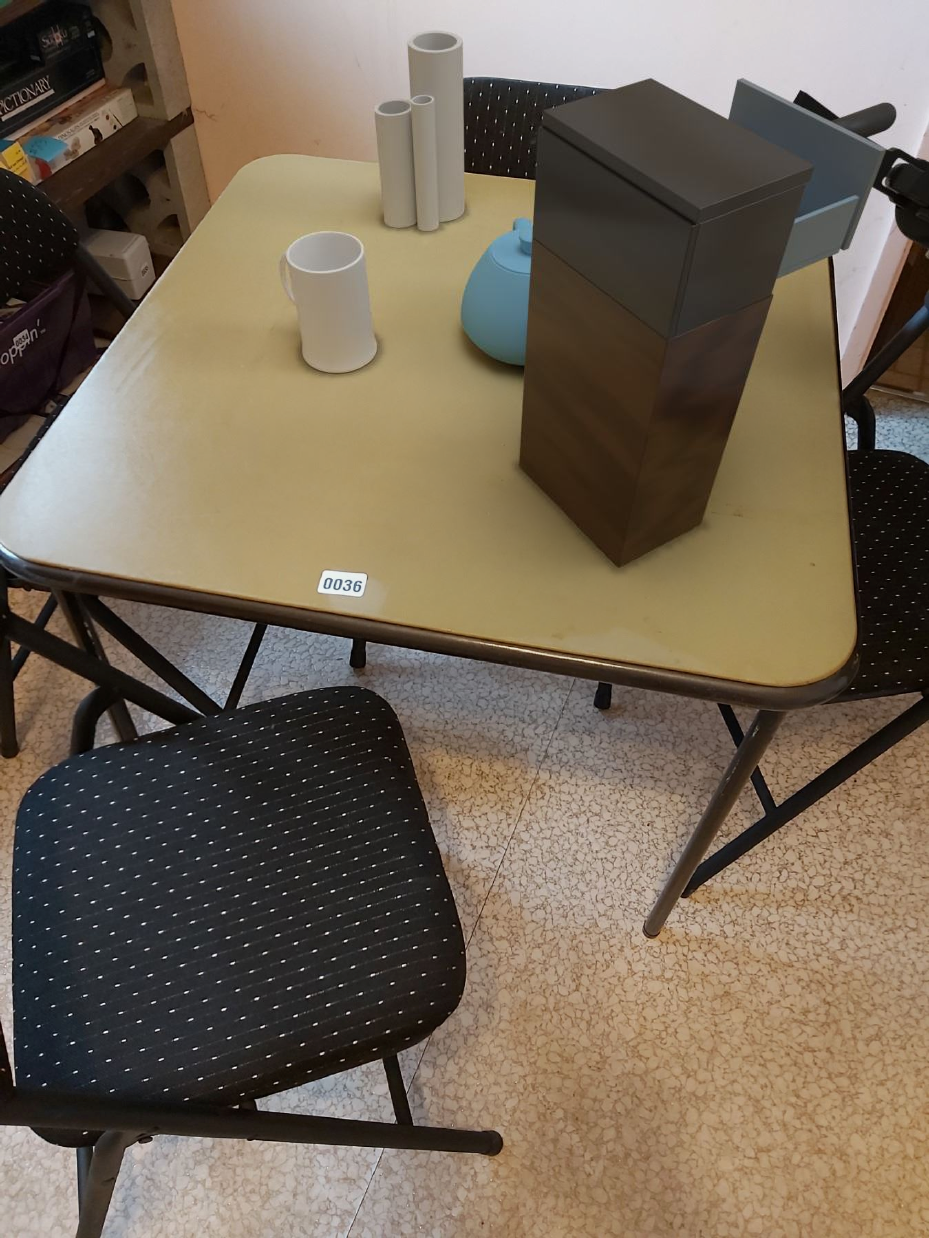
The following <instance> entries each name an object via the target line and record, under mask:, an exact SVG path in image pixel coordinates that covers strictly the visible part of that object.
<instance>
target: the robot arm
mask: <svg viewBox="0 0 929 1238" xmlns="http://www.w3.org/2000/svg"><path fill="white" fill-rule="evenodd" d="M792 103H794V104H796V105H798V106H800V107H802V108H804V109H807V110H809V111H811V112H813V113H815V114H817V115H819V116H821V117H823V118H825V119H827V120H829V121H832V120H835V119H838V118H840V116H838V115H837V114H836V113H834V112H833V111H832V110H830V109H829V108H828V107H826V106H825V105H823V104H822V103H821V102H819V100H817V99H816V98H814V97H813V96H812V95H810V94H809V93H808V92H806V91H804V90H802V89H799V90H798V92H797V94H796V96H795V98H794V99H793V101H792ZM865 139H867V140H869V141H871V142H873V143H875V144H877V145H879V146H881V145H880V144H879V143H878V142H875V141H874V140H872V139H870V137H867V138H865ZM898 159H900V160H902V161H904V162H900V163H897V164H895V163H896V162H897V160H898ZM894 164H895V165H894ZM883 181H884V184H883ZM872 189H875V190H876V191H878V192H880V193H881V194H883V195H885V196H886V197H888V201H889V202H890V203H892V204H894V218H895V224H896V226H897V228H898V230H899V232H900V233H901V234H902V235H903V236H904V237H905V238H907V239H908V240H910V241H912V242H913V243H915V244H917V245H918V246H920V247H922V248H924V249H926V250H927V251H926V253H925V257H926V259H928V260H929V161H928V160H926V159H924V158H920V157H914V156H913V155H911V154H909V153H908V152H906V151H904V150H902V149H901V148H897V147H893V146H892V147H890V148H886V152H885V154H884V157H883V160H882V162H881V165H880V168H879V170H878V173H877V176H876V178H875V181H874V183H873V186H872Z"/></svg>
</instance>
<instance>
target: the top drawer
mask: <svg viewBox="0 0 929 1238" xmlns="http://www.w3.org/2000/svg"><path fill="white" fill-rule="evenodd" d="M897 114H898V113H897V109H896V107H895V106H894V104H892V103H890V102H885V101H884V102H881V103H878V104H875V105H872V106H870V107H867V108H864V109H861V110H858V111H855V112H852V113H849V114H847V115H844V116H841V117H839V118H838V119H835V120H832V121H829V120H827V119H825V118H823V117H821V116H819V115H817V114H815V113H813V112H811V111H809V110H807V109H804V108H802V107H800V106H798V105H796V104H794V103H793V101H791V100H788V99H786V98H784V97H782V96H781V95H778V94H776V93H775V92H772V91H770V90H768V89H766V88H764V87H762V86H760V85H758V84H755V83H753V82H752V81H749V80H747V79H746V78H743V77H741V78H738V79H737V80H736V83H735V88H734V92H733V96H732V101H731V106H730V111H729V114H728V117H727V119H728V120H730V121H732V122H734V123H736V124H738V125H740V126H741V127H743V128H745V129H747V130H749V131H751V132H753V133H755V134H756V135H758V136H760V137H762V138H764V139H766V140H768V141H769V142H771V143H773V144H775V145H777V146H779V147H781V148H783V149H784V150H786V151H788V152H790V153H792V154H794V155H796V156H798V157H799V158H801V159H803V160H805V161H807V162H809V163H811V164H812V165H814V166H815V167H814V171H813V174H812V177H811V180H810V181H809V182H807V183H806V186H805V190H804V193H803V196H802V199H801V202H800V205H799V209H798V212H797V215H796V218H795V221H794V224H793V228H792V231H791V234H790V237H789V240H788V243H787V247H786V250H785V253H784V256H783V259H782V263H781V266H780V269H779V272H778V275H777V278H776V280H778V279H781V278H783V277H786V276H787V275H791V274H792V273H796V272H797V271H800V270H801V269H804V268H806V267H808V266H812V265H814V264H816V263H818V262H820V261H823V260H825V259H827V258H830V257H832V256H834V255H837V254H839V253H840V250H842V251H846V250H849V249H850V247H851V245H852V242H853V239H854V237H855V233H856V232H857V229H858V225H859V223H860V220H861V218H862V215H863V213H864V210H865V207H866V205H867V201H868V199H869V196H870V194H871V192H872V189H873V187H872V186H873V183H874V181H875V178H876V176H877V173H878V170H879V168H880V165H881V162H882V160H883V157H884V154H885V152H886V149H887V148H886V147H884V146H882V145H880V144H879V145H880V146H879V145H877V144H878V143H877V144H875V143H876V142H875V143H873V142H871V141H869V140H867V139H865V138H870V137H873V136H875V135H878V134H880V133H883V132H885V131H888V130H889V129H890V128H891V127H892V126H893V125H894V124H895V121H896V119H897Z"/></svg>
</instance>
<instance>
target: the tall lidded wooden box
mask: <svg viewBox="0 0 929 1238" xmlns="http://www.w3.org/2000/svg"><path fill="white" fill-rule="evenodd" d="M541 119H542V120H541V126H539V127H538V129H537V130H538V131H537V146H536V147H537V148H536V164H535V165H536V166H535V181H534V197H533V214H532V215H533V216H532V226H533V231H532V250H531V267H530V284H529V301H528V318H527V336H526V353H525V365H524V369H523V370H524V374H523V386H522V388H523V390H522V403H521V405H522V406H521V407H522V408H521V420H520V421H521V425H520V442H519V459H518V466H519V468H520V469H522V470H523V472H525V474H526V475H527V476H528V477H530V478H531V480H532V481H533V482H534V483H535V484H536V485H537V486H538V487H539V488H540V489H541V490H542V491H543V492H544V493H545V494H546V495H547V496H548V497H549V498H550V499H551V500H552V501H553V502H554V503H555V504H556V505H557V506H558V507H559V508H560V509H561V510H562V511H563V512H564V513H565V514H566V516H568V518H569V519H571V520H572V522H573V523H574V524H575V525H576V526H577V527H578V528H579V529H580V530H581V531H582V532H583V533H584V534H585V535H586V536H587V537H588V538H589V539H590V540H591V541H592V542H593V543H594V544H595V545H596V547H598V548H599V549H600V550H601V552H603V553H604V554H605V556H607V557H608V558H609V560H611V561H612V563H614V564H615V565H616V567H618V568H622V566H624V565H626V564H629V563H630V562H632V561H634V560H636V559H637V558H640V557H641V556H644V555H645V554H647V553H649V552H651V551H652V550H655V549H657V548H658V547H660V546H662V545H664V544H666V543H668V542H670V541H671V540H673V539H675V538H678V537H679V536H681V535H683V534H684V533H686V532H689V531H690V530H692V529H694V528H696V527H697V526H699V525H701V524H702V522H703V519H704V516H705V513H706V510H707V507H708V503H709V500H710V497H711V494H712V491H713V487H714V484H715V482H716V479H717V475H718V473H719V469H720V466H721V462H722V460H723V456H724V453H725V450H726V447H727V444H728V441H729V437H730V434H731V432H732V428H733V425H734V422H735V419H736V415H737V412H738V409H739V406H740V403H741V400H742V396H743V393H744V390H745V387H746V385H747V381H748V377H749V374H750V371H751V368H752V364H753V362H754V359H755V355H756V352H757V349H758V347H759V344H760V341H761V340H760V339H761V337H762V334H763V330H764V328H765V324H766V321H767V318H768V314H769V312H770V308H771V305H772V302H773V300H774V296H775V295H774V294H773V290H774V287H775V284H776V281H777V279H776V278H777V275H778V272H779V269H780V266H781V263H782V259H783V256H784V253H785V250H786V247H787V243H788V240H789V237H790V234H791V231H792V228H793V224H794V221H795V218H796V215H797V212H798V209H799V205H800V202H801V199H802V196H803V193H804V190H805V186H806V183H807V182H809V181H810V180H811V177H812V174H813V171H814V167H815V166H814V165H812V164H811V163H809V162H807V161H805V160H803V159H801V158H799V157H798V156H796V155H794V154H792V153H790V152H788V151H786V150H784V149H783V148H781V147H779V146H777V145H775V144H773V143H771V142H769V141H768V140H766V139H764V138H762V137H760V136H758V135H756V134H755V133H753V132H751V131H749V130H747V129H745V128H743V127H741V126H740V125H738V124H736V123H734V122H732V121H730V120H728V117H727V118H726V117H724V116H723V115H721V114H719V113H717V112H716V111H714V110H711V109H710V108H708V107H706V106H704V105H703V104H700V103H698V102H696V101H695V100H693V99H691V98H689V97H688V96H685V95H683V94H681V92H678V91H676V90H674V89H673V88H671V87H669V86H666V85H665V84H663V83H661V82H659V81H657V80H656V79H655V78H652V77H650V78H649V77H648V78H646V79H643V80H639V81H636V82H632V83H629V84H626V85H623V86H620V87H616V88H613V89H610V90H606V91H604V92H599V93H596V94H593V95H590V96H587V97H584V98H579V99H577V100H573V101H570V102H567V103H564V104H560V105H557V106H553V107H550V108H547V109H544V110H542V118H541Z"/></svg>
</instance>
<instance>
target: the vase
mask: <svg viewBox="0 0 929 1238" xmlns="http://www.w3.org/2000/svg"><path fill="white" fill-rule="evenodd" d="M463 42H464V41H463V38H462V37H461V36H460V35H458V34H456V33H453V32H449V31H446V30H426V31H421V32H417V33H415V34H412V35H411V36H410V37H409V38H408V39H407V43H406V44H407V57H408V59H407V61H408V62H407V63H408V76H409V77H408V78H409V95H410V100H408V99H403V98H394V99H393V98H391V99H387V100H384V101H381V102H379V103H377V104H375V106H374V108H373V110H374V111H373V112H374V122H375V123H374V124H375V135H376V145H377V156H378V167H379V179H380V188H381V189H380V190H381V201H382V210H383V222H384V224H385V225H386V226H387V227H390V228H394V229H402V228H403V229H404V228H408V227H411V226H414V225H415V224H417V229H418V230H419V231H422V232H433V231H435V230H437V229H438V228H439V226H440V223H444V222H446V223H447V222H451V221H455V220H457V219H459V218H461V217H462V215H463V214H464V213H465V207H466V206H465V129H464V127H465V123H464V122H465V121H464V119H465V118H464V43H463Z"/></svg>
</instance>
